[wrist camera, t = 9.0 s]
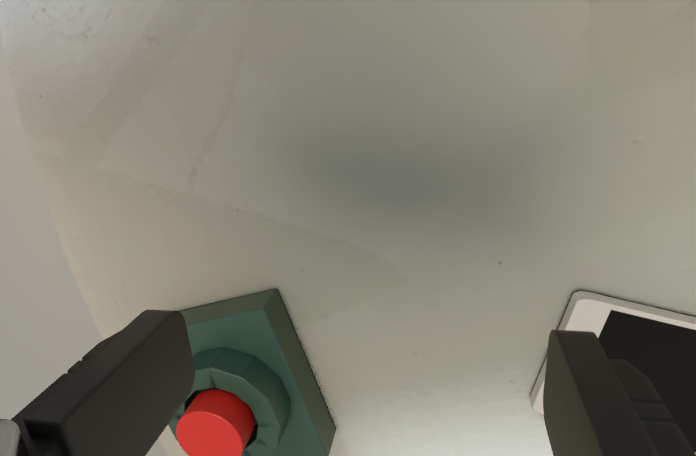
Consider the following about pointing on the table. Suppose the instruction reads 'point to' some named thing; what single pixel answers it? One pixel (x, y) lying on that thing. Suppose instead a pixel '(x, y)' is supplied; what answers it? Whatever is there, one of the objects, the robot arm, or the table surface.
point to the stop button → (215, 425)
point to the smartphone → (640, 349)
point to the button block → (259, 373)
